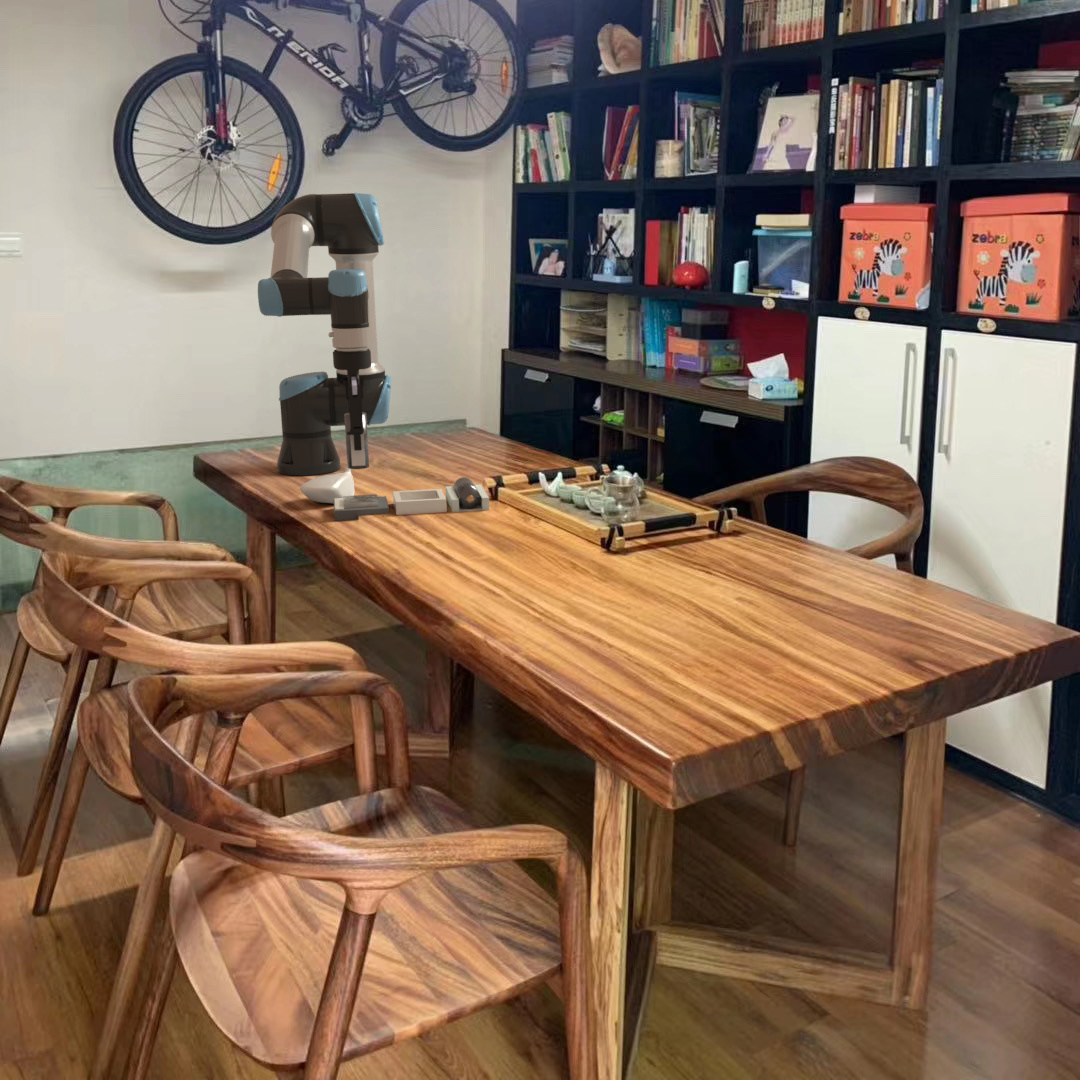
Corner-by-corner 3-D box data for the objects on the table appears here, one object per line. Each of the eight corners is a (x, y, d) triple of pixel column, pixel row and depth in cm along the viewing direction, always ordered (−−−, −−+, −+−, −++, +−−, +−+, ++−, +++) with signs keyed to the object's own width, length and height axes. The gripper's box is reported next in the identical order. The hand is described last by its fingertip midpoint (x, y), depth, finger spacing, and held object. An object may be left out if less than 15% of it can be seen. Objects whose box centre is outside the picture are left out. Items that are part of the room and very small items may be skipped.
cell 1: (347, 465, 249) (343, 408, 245) (368, 464, 249) (365, 407, 246) (347, 469, 245) (344, 412, 241) (369, 468, 245) (366, 411, 242)
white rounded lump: (368, 461, 262) (323, 447, 253) (364, 508, 259) (319, 495, 251) (338, 470, 269) (293, 457, 260) (335, 516, 266) (290, 504, 258)
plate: (343, 500, 251) (343, 496, 251) (376, 498, 252) (376, 494, 252) (343, 508, 245) (343, 503, 244) (378, 506, 246) (378, 501, 246)
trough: (446, 502, 257) (445, 486, 256) (481, 499, 259) (480, 484, 258) (452, 516, 245) (451, 499, 244) (489, 513, 246) (489, 497, 245)
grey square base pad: (334, 508, 253) (333, 497, 253) (386, 505, 255) (385, 494, 255) (334, 520, 243) (333, 509, 242) (389, 517, 245) (388, 506, 244)
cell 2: (453, 498, 256) (453, 477, 255) (474, 496, 257) (473, 476, 256) (460, 510, 245) (459, 489, 244) (481, 509, 246) (480, 488, 245)
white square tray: (393, 507, 253) (393, 491, 252) (442, 504, 255) (441, 488, 254) (396, 518, 243) (395, 502, 243) (446, 515, 245) (446, 499, 244)
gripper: (332, 344, 248) (339, 455, 254) (333, 354, 231) (340, 472, 238) (368, 342, 249) (374, 453, 256) (372, 353, 233) (378, 470, 239)
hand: (358, 462), depth 247 cm, fingers closed on cell 1, 4 cm apart
